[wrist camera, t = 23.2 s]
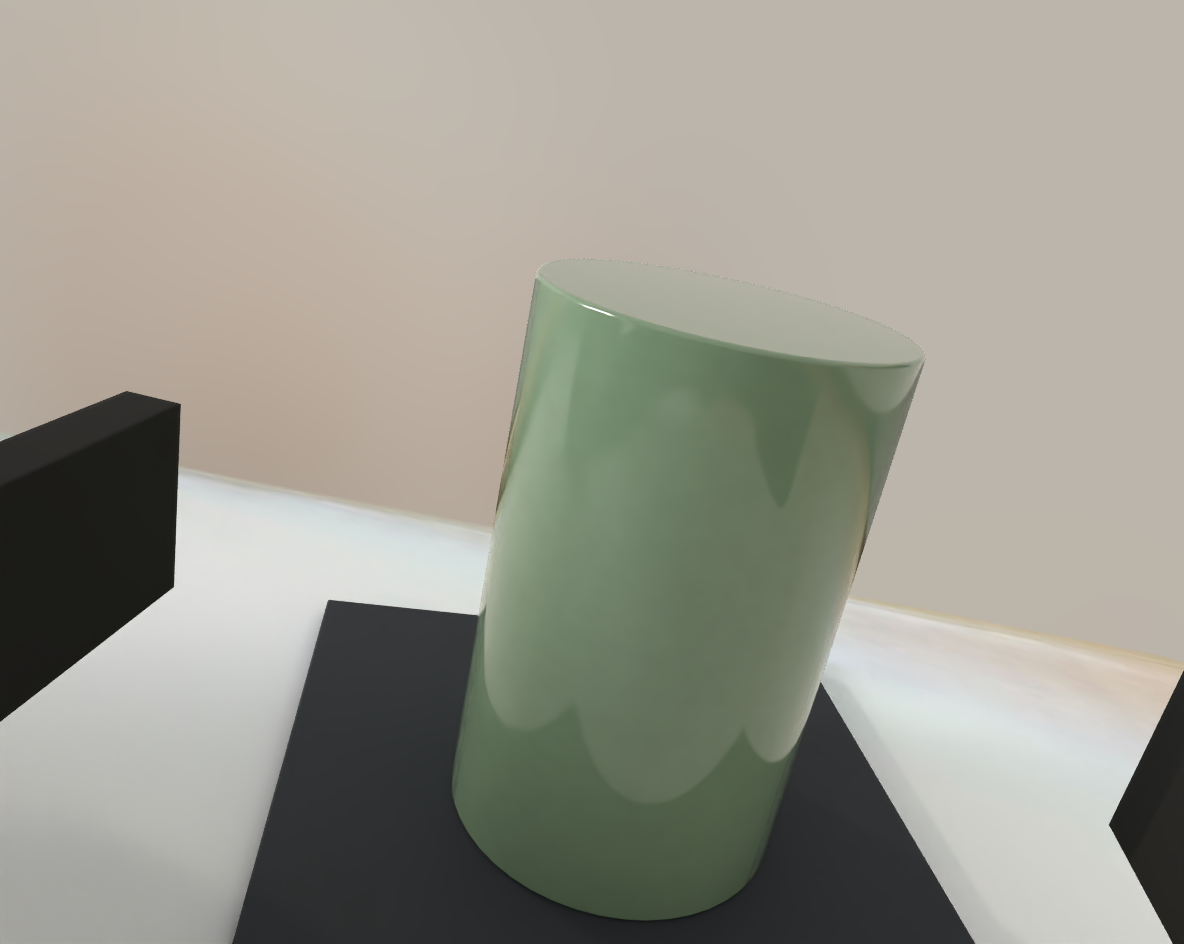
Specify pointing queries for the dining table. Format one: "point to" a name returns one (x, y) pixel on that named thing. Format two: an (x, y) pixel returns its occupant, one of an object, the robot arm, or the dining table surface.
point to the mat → (482, 890)
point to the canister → (667, 577)
